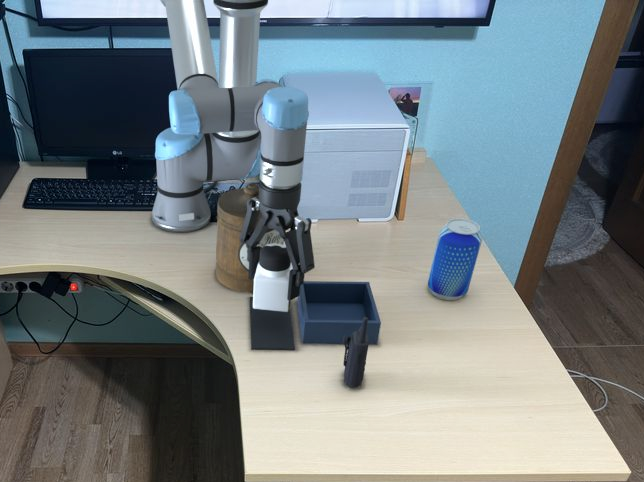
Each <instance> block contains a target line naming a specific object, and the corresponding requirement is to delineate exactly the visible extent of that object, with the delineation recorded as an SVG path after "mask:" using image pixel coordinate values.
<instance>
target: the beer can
mask: <svg viewBox="0 0 644 482" xmlns="http://www.w3.org/2000/svg"><path fill="white" fill-rule="evenodd" d="M482 242H483V236H482V232H481V226H480V224H479V223H478V222H476V221H474V220H472V219H468V218H463V217H455V218H450V219H449V220H448V221H447V222H446V224H445V226H443V227H442V228H441V229H440V231H439V232H438V238H437V242H436V246H435V250H434V254H433V259H432V263H431V268H430V271H429V275H428V280H427V288H428V289H429V291H430V293H431V294H432V295H433V296H434V297H435V298H438V299H441V300H445V301H455V300H459V299H461V298H462V297H463V296H465V295H466V294H467V293H468V291H469V288H470V284H471V281H472V277H473V274H474V270H475V267H476V264H477V259H478V257H479V253H480V249H481V246H482Z"/></svg>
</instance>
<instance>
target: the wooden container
mask: <svg viewBox="0 0 644 482" xmlns="http://www.w3.org/2000/svg"><path fill="white" fill-rule="evenodd" d="M257 196H258V197H259V184H257V183H249V184H247V185H245V186H244V187H241V188H235V189H231V190H229V191H227V192H225V193H223V194H221V196H219V198H218V200H217V207H216V208H217V209H216V212H217V221H216V222H217V223H216V245H215V246H216V249H215V253H216V254H215V261H216V262H215V276H216V279H217V280H218V282H219V283H220V284H221V285H223V286H225V287H226V288H228V289H231V290H234V291H237V292H244V293H253V291H254V279H252V280H250V279H248V276H249V262H248V261H247V247H246V244H245V243H241V242H240V240H239V239H240V235H241V231H242V228H243V224H244V220H245V217H246V213H247V201H248V200H250V199H252V198H254V197H257ZM261 218H262V213H261V211H260V213H259V216H258V220H257V223H256V226H255V229H256V228H257V226H258V222H259V221H260V219H261ZM254 231H255V230H254ZM268 244H282V245H285V242H284V239H282V238H281V237H280V234H279V232H278V231H276V230H275V229H272V228H269V229H268V230H267V232H266V233H265V235H264V236H263V238H262V240H261V241H260V244H258V245H257V246H261V247H264V246H265V245H268Z"/></svg>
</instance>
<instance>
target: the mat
mask: <svg viewBox="0 0 644 482" xmlns="http://www.w3.org/2000/svg"><path fill="white" fill-rule="evenodd" d="M249 320H250V321H249V322H250V323H249V324H250V326H249V327H250V349H251V350H252V351H253V350H254V351H255V350H256V351H258V350H260V351H295V350H296V345H295V338H294V337H295V335H294V329H293V320H292V313H291V306H290V307H289V311H288V312H282V311H273V310H263V309H254V308H253V296H249Z"/></svg>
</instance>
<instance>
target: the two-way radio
mask: <svg viewBox="0 0 644 482" xmlns="http://www.w3.org/2000/svg"><path fill="white" fill-rule="evenodd" d="M367 322H368V318H367V317H364V318H363V322H362V326H361V327H360V328H359V331H356V332H353V333H352V335H351V336H350V338H349V337H348V336H344V338H343V343H344V344H343V345H344V355H343V363H342V364H343V366H344V371H343V381H344V384H345V385H346V386H348V387H350V388H360V387H361V386H362V383H363V380H364V374H365V371H366V364H367V358H368V357H367V356H368V351H369V346H370V344H369V337H368V334H367V333H366V330H367Z"/></svg>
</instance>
